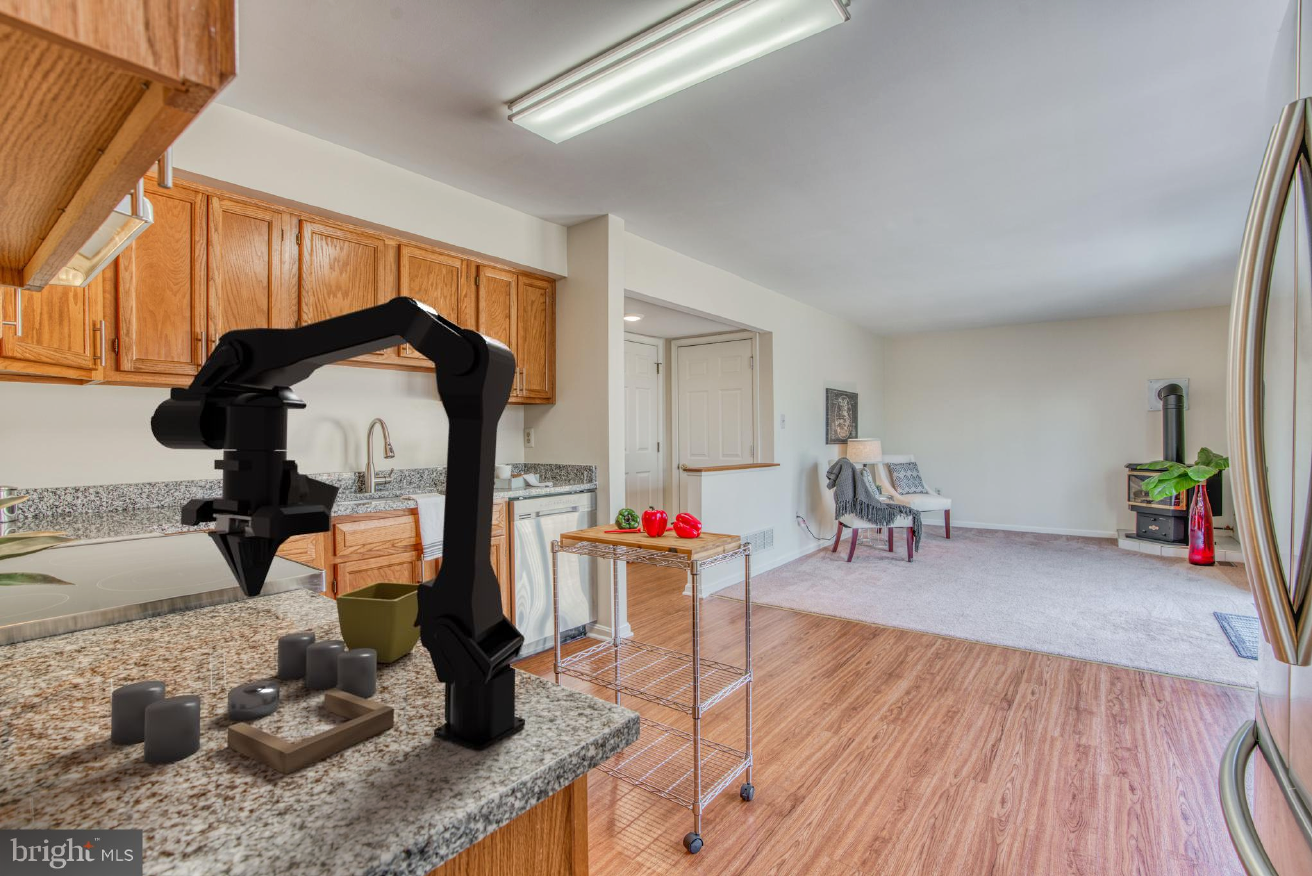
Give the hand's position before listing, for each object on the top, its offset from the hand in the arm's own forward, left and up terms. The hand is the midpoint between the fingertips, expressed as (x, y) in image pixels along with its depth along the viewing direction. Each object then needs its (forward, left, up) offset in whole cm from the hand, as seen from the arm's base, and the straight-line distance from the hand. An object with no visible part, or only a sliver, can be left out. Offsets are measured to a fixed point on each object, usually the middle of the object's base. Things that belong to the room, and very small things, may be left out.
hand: (252, 596), depth 65 cm
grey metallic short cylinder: (-1, 0, -12) cm, 12 cm away
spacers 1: (0, +8, -12) cm, 15 cm away
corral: (-11, 0, -12) cm, 16 cm away
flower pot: (+2, -18, -12) cm, 22 cm away
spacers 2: (0, -9, -12) cm, 15 cm away
